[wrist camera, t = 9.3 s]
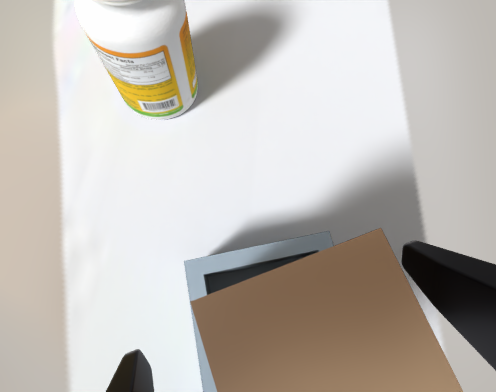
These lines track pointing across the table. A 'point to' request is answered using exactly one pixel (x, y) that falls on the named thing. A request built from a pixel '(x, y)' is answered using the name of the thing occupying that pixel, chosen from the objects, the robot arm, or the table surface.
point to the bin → (242, 275)
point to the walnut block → (324, 327)
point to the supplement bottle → (144, 52)
